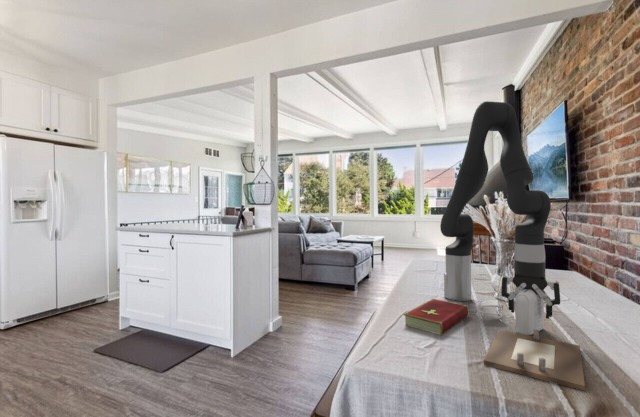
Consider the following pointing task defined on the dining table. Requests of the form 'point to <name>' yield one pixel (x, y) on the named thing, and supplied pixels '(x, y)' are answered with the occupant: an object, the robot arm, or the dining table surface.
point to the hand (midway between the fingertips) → (529, 314)
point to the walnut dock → (537, 358)
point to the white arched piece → (490, 304)
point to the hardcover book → (436, 316)
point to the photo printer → (529, 312)
